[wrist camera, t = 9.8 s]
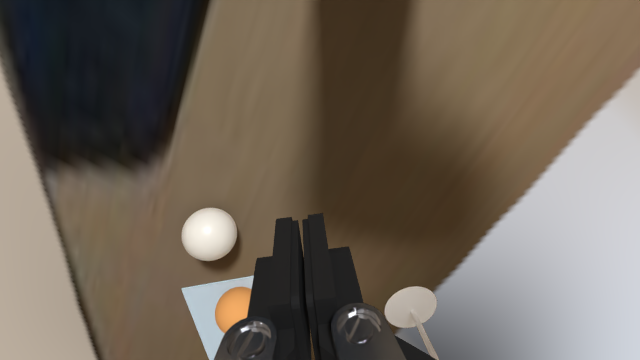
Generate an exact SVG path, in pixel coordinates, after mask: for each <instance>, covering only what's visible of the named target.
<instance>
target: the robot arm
mask: <svg viewBox="0 0 640 360" xmlns="http://www.w3.org/2000/svg"><path fill="white" fill-rule="evenodd" d="M302 222H303V245H304V257H303V250H302V243H301V237H300V230H299V224H298V220H296V221H292V217H288V218H280V219H276V226H275V236H274V247H273V256H270V257H262V258H257V261H256V266H255V272H254V278H253V284H252V290H251V296H250V302H249V308H248V314H247V318H245V319H242V320H240V321H238V322H237V323H235V324H234V325H232V326H231V327H230V328H229V329H228V330H227V331H226V333H225V335H224V336H223V338H222V340H221V343H220V345H219V348H218V350H217V353H216V355H215V358H214V360H311V341H310V330H311V336H312V342H313V348H314V355H315V360H436V359H435V358H433V357H431V356H430V355H428V354H426V353H424V352H422V351H421V350H419V349H417V348H416V347H414V346H412V345H410V344H409V343H407V342H405V341H404V340H402V339H400V338H398V337H397V336H395V335H394V334H393V333H392V331H391V329H390V327H389V325H388V323H387V321H386V319H385V317H384V316H383V314H382V313H381V312H380V311H379V310H378V309H376V308H375V307H373V306H371V305H368V304H364V303H363V299H362V295H361V291H360V287H359V283H358V279H357V276H356V272H355V268H354V264H353V260H352V256H351V252H350V249H349V247H341V248H333V249H328V244H327V237H326V231H325V225H324V218H323V213H320V214H312V215H308V219H304V220H302Z"/></svg>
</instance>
